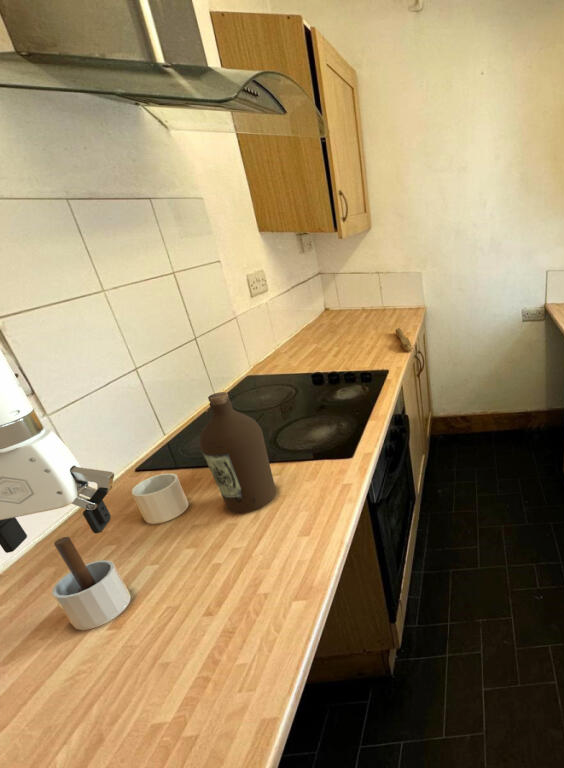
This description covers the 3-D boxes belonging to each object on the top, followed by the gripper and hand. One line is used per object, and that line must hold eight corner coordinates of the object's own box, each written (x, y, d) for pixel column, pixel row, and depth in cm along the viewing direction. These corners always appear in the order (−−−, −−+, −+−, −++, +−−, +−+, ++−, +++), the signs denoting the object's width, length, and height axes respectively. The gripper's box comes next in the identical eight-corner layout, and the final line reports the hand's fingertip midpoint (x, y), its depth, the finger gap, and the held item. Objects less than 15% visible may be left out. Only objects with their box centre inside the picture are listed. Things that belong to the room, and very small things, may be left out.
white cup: (138, 527, 82) (124, 499, 80) (153, 504, 89) (141, 477, 86) (181, 518, 85) (170, 490, 82) (193, 496, 91) (182, 470, 88)
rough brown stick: (401, 327, 201) (412, 345, 175) (401, 333, 202) (413, 352, 177) (394, 328, 200) (405, 346, 174) (395, 334, 201) (405, 353, 175)
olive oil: (255, 480, 96) (223, 381, 86) (290, 489, 93) (261, 387, 83) (211, 509, 87) (169, 403, 77) (249, 521, 84) (210, 411, 74)
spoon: (84, 616, 64) (41, 548, 59) (90, 606, 66) (49, 539, 60) (112, 608, 65) (73, 541, 60) (118, 599, 67) (80, 532, 61)
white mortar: (63, 636, 62) (40, 603, 59) (87, 598, 68) (68, 567, 65) (119, 621, 64) (100, 589, 61) (138, 586, 70) (121, 555, 67)
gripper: (-127, 463, 47) (-41, 574, 54) (66, 433, 52) (122, 537, 59) (-69, 432, 53) (1, 534, 60) (98, 408, 58) (145, 504, 65)
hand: (61, 535), depth 60 cm, fingers open, 9 cm apart
